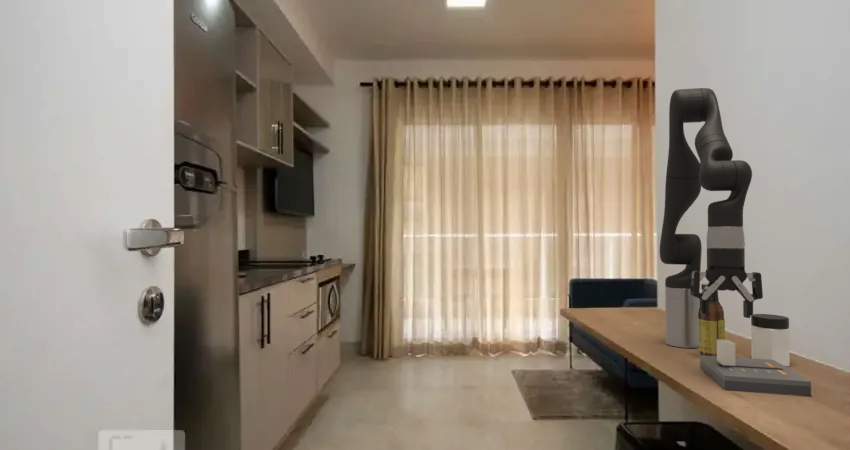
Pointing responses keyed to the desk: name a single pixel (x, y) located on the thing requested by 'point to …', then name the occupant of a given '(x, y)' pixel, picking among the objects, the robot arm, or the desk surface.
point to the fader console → (756, 376)
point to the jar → (770, 338)
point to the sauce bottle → (711, 325)
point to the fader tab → (726, 352)
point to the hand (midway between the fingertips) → (725, 316)
